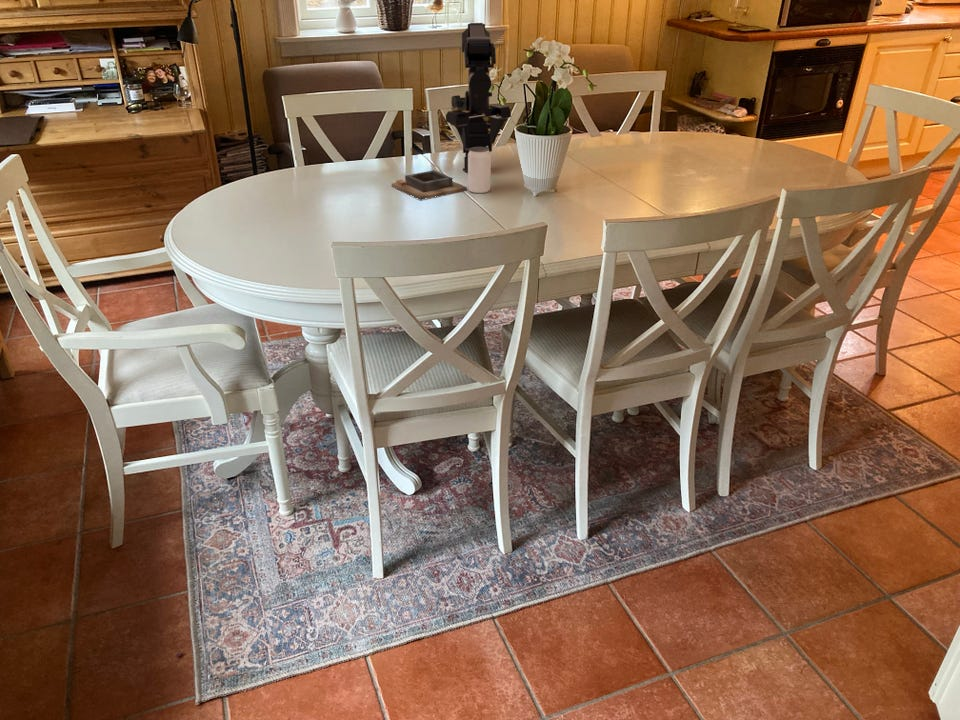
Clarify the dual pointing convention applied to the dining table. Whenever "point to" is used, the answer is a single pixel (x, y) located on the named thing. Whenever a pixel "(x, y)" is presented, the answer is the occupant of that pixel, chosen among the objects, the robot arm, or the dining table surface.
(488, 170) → the can
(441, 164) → the dining table surface
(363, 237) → the dining table surface
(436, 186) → the socket block
